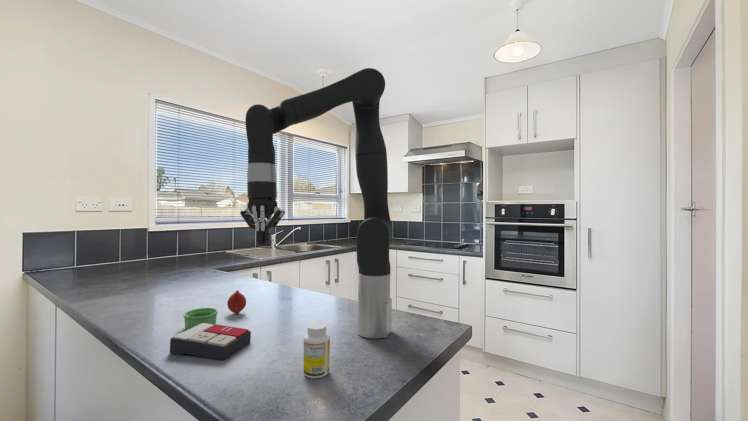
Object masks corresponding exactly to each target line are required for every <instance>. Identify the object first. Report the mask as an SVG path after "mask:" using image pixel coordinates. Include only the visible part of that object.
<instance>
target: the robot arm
mask: <svg viewBox="0 0 748 421" xmlns="http://www.w3.org/2000/svg"><path fill="white" fill-rule="evenodd" d="M385 89H386V80H385V77H384V75H383V73H382V72H380V71H379V70H378V69H375V68H372V67H368V68H363V69H361V70H359V71H356V72H354V73H352V74H350V75H348V76H347V77H345V78H342V79H341V80H337V81H336V82H333V83H331V84H329V85H326V86H323V87H321V88H318V89H314V90H312V91H309V92H305V93H302V94H299V95H295V96H293V97H290V98H286V99H284V100H282V101H281V102H280V103H279V104H278V105H277V106H275V107H272V108H270V109H269V107H267V106H266V105H264V104H260V103H259V104H253V105H252V106H250V107H248V109H247V111H246V114H245V132H246V138H247V145H248V146H247V147H248V148H247V170H246V171H247V173H246V174H247V175H246V180H247V181H246V184H247V186H246V187H247V188H246V189H247V190H246V191H247V199H248V202H247V207H246V208H245V209H244V210H241V211H240V212H239V214H240V216H241V217H242V219H243V220H244V221H245V223H246V224H247V226H248V227H249V229H251V230H252V229H253V230H254V231H255V232H256V242H257V244H258V246H267V245H268V243H269V241H270V230H273V229H275V228H276V227H277V226H278V224H279V222H280V221H281V220H282V218H283V217H284V215H285V214H286V211H285V210H284V209H281V208H279V207H278V203H277V196H278V195H277V188H278V187H277V169H276V149H275V146H274V134H277V133H279V132H282V131H283V130H286V129H287V128H289V127H291V126H293V125H298V124H300V123H304V122H307V121H311V120H313V119H316V118H318V117H321V116H323V115H324V114H326V113H328V112H330V111H332V110H333V109H336V108H337V107H339V106H342V105H344V104H348V103H351V102H352V108H353V115H354V120H355V141H354V146H355V147H354V149H355V150H354V153H355V156H354V157H355V169H356V170H355V171H356V172H355V173H356V177H357V181H358V185H359V189H360V192H361V195H362V200H363V211H364V212H363V213H364V214H363V216H364V217H363V221H362V222H361V223H360V224H359V225H358V228H357V232H356V262H357V267H358V269H357V270H358V272H357V273H358V275H357V276H358V279H357V282H358V285H357V335H359V336H361V337H362V338H366V339H375V340H376V339H388V336H390V334H391V332H392V324H393V323H392V322H393V321H392V317H393V316H392V315H393V314H392V312H393V310H392V308H393V299H392V298H391V262H390V241H391V240H392V238H393V227H392V221H391V216H390V210H389V202H388V200H389V199H388V195H389V192H388V190H389V189H388V188H389V187H388V186H389V185H388V184H389V182H388V181H389V180H388V179H389V178H388V177H389V176H388V173H389V172H388V168H389V166H388V153H387V148H386V141H385V139H384V136H383V133H382V130H381V123H380V103H381V102H380V101H381V98H382V96H383V94H384V92H385Z"/></svg>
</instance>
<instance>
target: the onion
mask: <svg viewBox="0 0 748 421" xmlns="http://www.w3.org/2000/svg"><path fill="white" fill-rule="evenodd" d="M226 303H227V308H228V310H229V311H230V312H232V313H233V314H235V315H239V314H240V313H241V312H242V311H243V310H244V309H245V308H246V305H247V299H246V297H245V295H244V294H242V293H241V292H240V290H235V292H234V293H232V294H231V295H230V297H229V298H228V300H227V302H226Z"/></svg>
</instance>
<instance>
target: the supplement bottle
mask: <svg viewBox="0 0 748 421" xmlns="http://www.w3.org/2000/svg"><path fill="white" fill-rule="evenodd" d="M330 336H331V335H330V334H329V332H327V325H326V324H325V323H322V322H313V323H310V324H308V325H307V333H306V334H304V336H303V374H304V376H306V377H307V378H308V379H309V378H310V379H320V378H324V377H325V376H327V375H328V374H329V372H330V368H331V367H330V354H331V352H330V349H331V348H330V347H331V346H330V344H331V337H330Z"/></svg>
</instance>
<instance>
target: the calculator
mask: <svg viewBox="0 0 748 421" xmlns="http://www.w3.org/2000/svg"><path fill="white" fill-rule="evenodd" d="M251 337H252V331H251V330H249V329H247V328H242V327H235V326H230V325H223V324H217V323H216V324H215V325H213V324H207V323H201V324H199V325H197V326H195V327H193V328H191V329H189V330H186V329H185V331H183V332H180V333H178V334H176V335H174V336H173V337H171V338H170V342H169V354H173V355H178V356H184V355H185V354H187V355H192V356H197V357H204V358H209V359H214V360H221V361H225V360H227V359H228V358H230V357H231V356H233V355H234V354H235V353H237V352H239V351H240V350H241V349H242V348H245V346H247V345H249V344H250V343H251V339H252V338H251Z"/></svg>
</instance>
